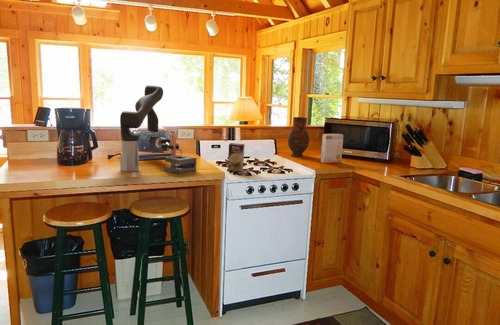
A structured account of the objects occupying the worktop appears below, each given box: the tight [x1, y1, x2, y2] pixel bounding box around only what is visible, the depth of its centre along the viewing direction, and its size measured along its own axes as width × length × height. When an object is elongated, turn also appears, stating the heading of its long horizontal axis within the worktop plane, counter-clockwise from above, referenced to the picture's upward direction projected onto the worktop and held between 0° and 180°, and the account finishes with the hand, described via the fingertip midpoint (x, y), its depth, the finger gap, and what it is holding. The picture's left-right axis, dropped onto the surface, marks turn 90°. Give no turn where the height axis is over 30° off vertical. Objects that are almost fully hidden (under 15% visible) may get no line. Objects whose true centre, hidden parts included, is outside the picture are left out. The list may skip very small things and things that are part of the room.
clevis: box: [164, 154, 197, 175], centre depth 218 cm, size 14×12×8 cm
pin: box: [170, 133, 177, 166], centre depth 229 cm, size 3×3×20 cm
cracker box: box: [320, 133, 344, 164], centre depth 269 cm, size 14×6×21 cm, turn 108°
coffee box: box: [227, 142, 245, 172], centre depth 228 cm, size 9×6×16 cm
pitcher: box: [287, 116, 310, 158], centre depth 291 cm, size 17×21×30 cm
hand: (175, 147), depth 226 cm, fingers closed on pin, 3 cm apart
